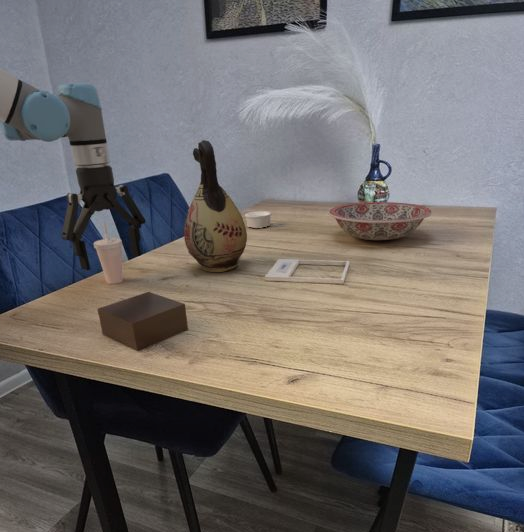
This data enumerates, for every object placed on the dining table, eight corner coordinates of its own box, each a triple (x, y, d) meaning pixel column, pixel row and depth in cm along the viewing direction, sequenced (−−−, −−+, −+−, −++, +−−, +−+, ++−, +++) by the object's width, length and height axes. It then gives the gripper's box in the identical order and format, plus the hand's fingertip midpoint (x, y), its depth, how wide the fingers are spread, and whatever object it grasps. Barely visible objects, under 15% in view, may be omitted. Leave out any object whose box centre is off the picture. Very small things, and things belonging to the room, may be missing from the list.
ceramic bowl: (335, 226, 157) (336, 201, 153) (427, 228, 150) (430, 202, 146) (321, 249, 132) (321, 220, 129) (430, 252, 125) (434, 221, 121)
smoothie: (127, 276, 117) (117, 218, 111) (129, 283, 111) (119, 223, 105) (100, 279, 115) (89, 221, 109) (101, 287, 110) (89, 226, 103)
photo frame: (278, 258, 121) (349, 260, 117) (279, 262, 121) (349, 264, 117) (264, 275, 108) (343, 278, 104) (265, 280, 109) (343, 283, 105)
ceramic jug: (184, 262, 125) (170, 139, 112) (241, 256, 128) (234, 136, 115) (192, 281, 111) (177, 142, 97) (256, 274, 114) (249, 138, 100)
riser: (102, 334, 86) (97, 308, 83) (152, 315, 93) (148, 291, 90) (137, 350, 79) (132, 323, 77) (188, 329, 86) (185, 303, 84)
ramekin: (245, 229, 158) (244, 216, 156) (246, 224, 166) (245, 211, 164) (271, 228, 158) (271, 215, 156) (271, 223, 166) (270, 210, 164)
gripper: (45, 173, 91) (70, 278, 101) (151, 160, 107) (164, 251, 117) (28, 172, 96) (54, 272, 105) (132, 159, 112) (146, 247, 121)
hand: (112, 261), depth 111 cm, fingers open, 13 cm apart
